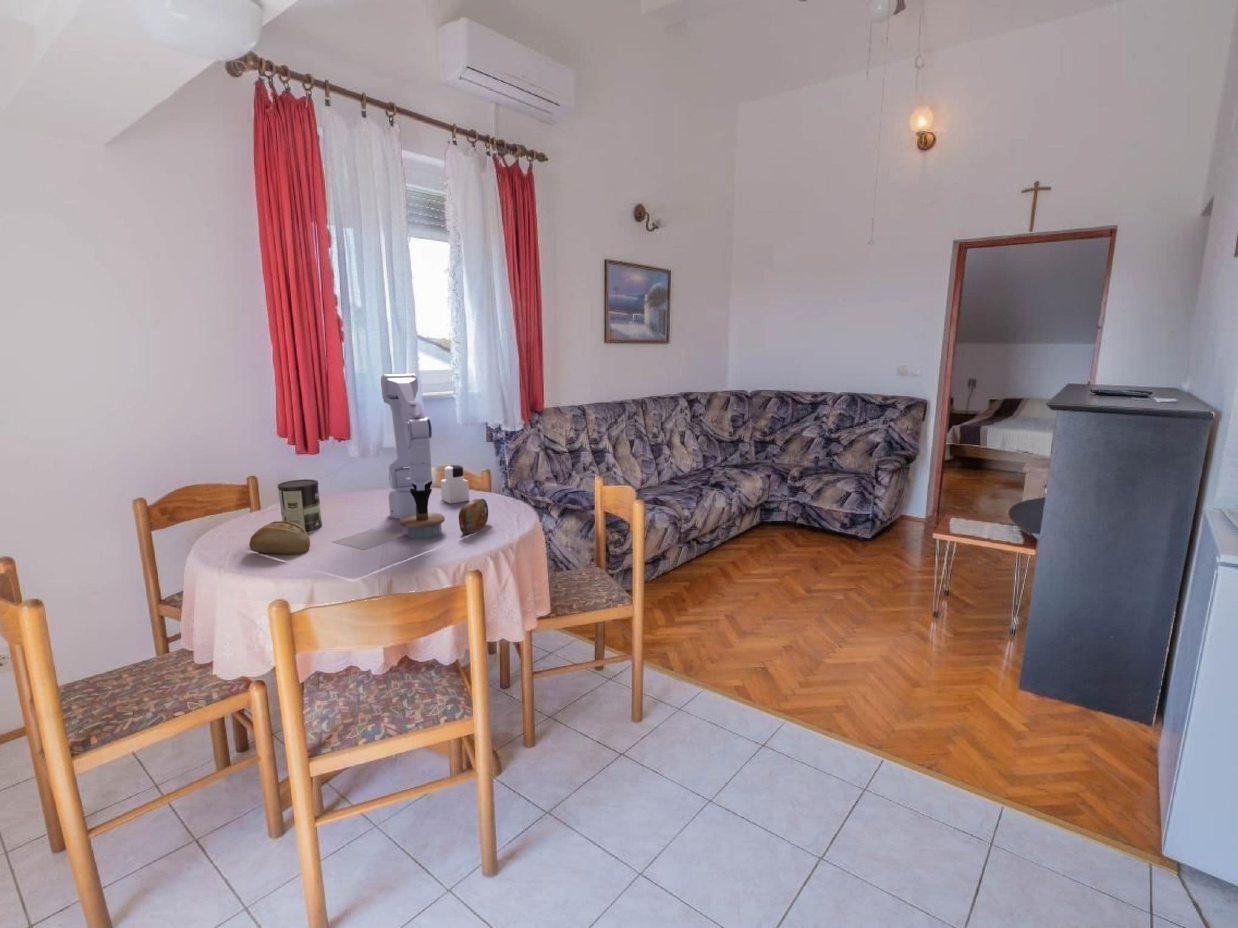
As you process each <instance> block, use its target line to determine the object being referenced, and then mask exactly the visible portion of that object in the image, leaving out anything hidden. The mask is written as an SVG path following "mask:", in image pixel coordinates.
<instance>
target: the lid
mask: <svg viewBox="0 0 1238 928" xmlns="http://www.w3.org/2000/svg"><path fill="white" fill-rule="evenodd" d="M428 509H429V508H428ZM428 509H427V513H426V514H419V513H418V510H417V506H416V514H412V515H408V516H405V517H403V518H401V519H399V525H400V526H401V527H405V528H407V527H409V528H423V527H431V526H435V525H438V524H441V525H442V523H444V522H445V520H446V519H445V515H443V514H441V513H437V512H436V513H435V512H429V510H428Z"/></svg>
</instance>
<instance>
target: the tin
mask: <svg viewBox="0 0 1238 928" xmlns="http://www.w3.org/2000/svg"><path fill="white" fill-rule="evenodd" d="M458 513H459V514H458V522H459V524H458V525H459V531H460V532H461V533H462V534H465V535H474V534H476V533H478V531H480V530H481V529H483V528H484V527H485V526H486V524H487V522H488V519H489V507H488V503H487V501H486V500H485V499H484V498H476V499H473V500H471V501H470V502H469V501H468V503H466V504H464V505H463V506H462V507H461V508H460V510H459V512H458Z"/></svg>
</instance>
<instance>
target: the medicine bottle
mask: <svg viewBox="0 0 1238 928" xmlns="http://www.w3.org/2000/svg"><path fill="white" fill-rule="evenodd" d="M469 488H470V485H469V480H468V479H465V478H464V467H463V466H462V465H459V464H458V465H457V464H456V465H455V464H453V465H448V466H446V467H444V479H441V480H440V490H441V491H440V495H441V500H442V501H444V502H446V503H447V504H450V505H451V503H452V504H457V503H458V504H459V503H463V502H469V501H470V489H469Z"/></svg>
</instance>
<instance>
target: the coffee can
mask: <svg viewBox="0 0 1238 928" xmlns="http://www.w3.org/2000/svg"><path fill="white" fill-rule="evenodd" d="M277 489H278V496H279V506H280V513H281V521H290V522H295V523H297V524H299V525H301V526H302V527H303V528H304V530H305V531H306V533H307V534H310V533H314V532H317V531H319V530H321V529H323V522H322V511H321V501H320V493H319V491H320V490H319V480H316V479H306V478H304V479H294V480H288V481H287V480H286V481H284V482H281V483H278V484H277Z"/></svg>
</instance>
